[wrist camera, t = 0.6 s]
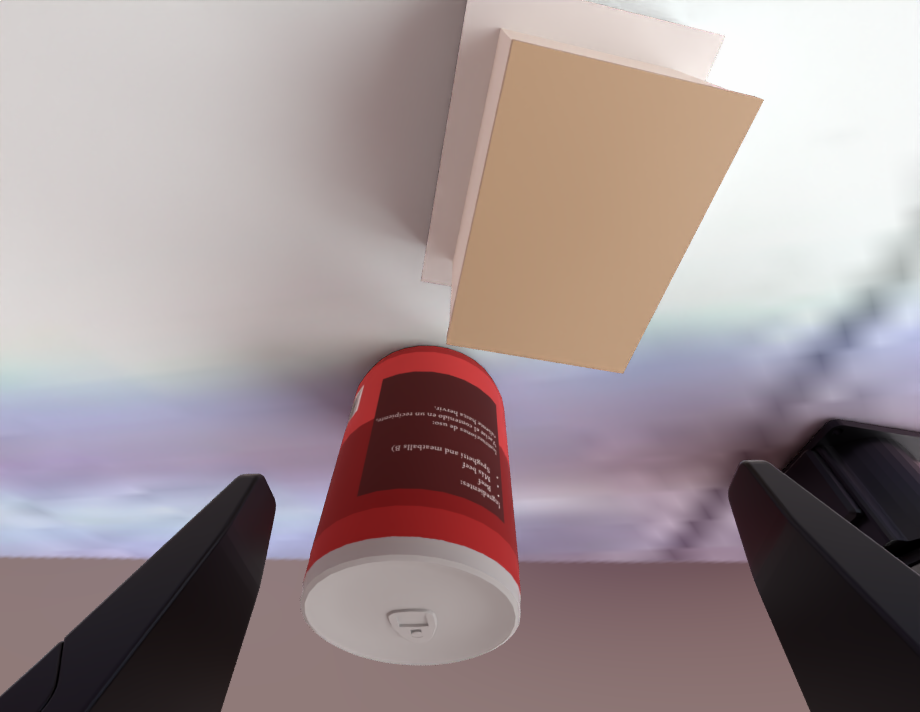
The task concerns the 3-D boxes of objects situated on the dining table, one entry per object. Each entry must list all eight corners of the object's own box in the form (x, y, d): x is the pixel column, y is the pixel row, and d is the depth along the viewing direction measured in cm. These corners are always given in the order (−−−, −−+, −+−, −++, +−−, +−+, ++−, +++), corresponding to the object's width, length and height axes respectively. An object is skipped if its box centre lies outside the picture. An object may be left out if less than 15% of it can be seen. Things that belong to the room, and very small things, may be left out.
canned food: (397, 466, 28) (366, 678, 20) (327, 366, 24) (247, 583, 15) (522, 434, 27) (550, 651, 18) (472, 320, 22) (475, 534, 14)
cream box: (676, 67, 14) (764, 100, 10) (587, 287, 18) (622, 373, 14) (499, 25, 13) (513, 40, 9) (451, 262, 17) (446, 344, 13)
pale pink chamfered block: (685, 28, 16) (725, 35, 13) (587, 276, 21) (603, 313, 18) (471, -25, 15) (472, -28, 12) (426, 246, 20) (420, 280, 18)
